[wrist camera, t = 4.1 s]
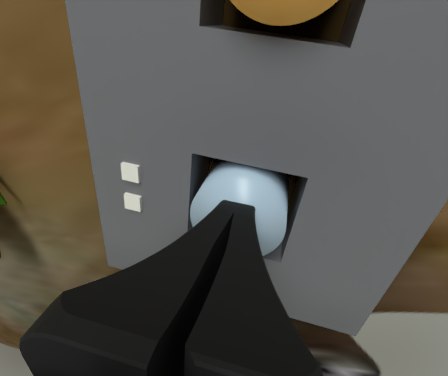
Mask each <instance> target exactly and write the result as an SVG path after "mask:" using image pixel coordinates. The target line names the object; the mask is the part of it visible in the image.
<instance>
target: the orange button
mask: <svg viewBox="0 0 448 376" xmlns="http://www.w3.org/2000/svg"><path fill="white" fill-rule="evenodd" d="M230 1H231V2H232V3H233V4H234V6H235V7H236V8H237V9H238V10H240V11H241V12H242V13H243V14H245V15H246V16H248V17H250V18H251V19H253V20H255V21H258V22H260V23H263V24H268V25H274V26H287V25H294V24H298V23H302V22H305V21H307V20H310V19H312V18H314V17H316V16H318V15H320V14H322V13H323V12H324V11H326V10H327V9H329V8H330V7H331V6H333V5H334V4H335V3H336V2H337V1H338V0H230Z"/></svg>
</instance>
